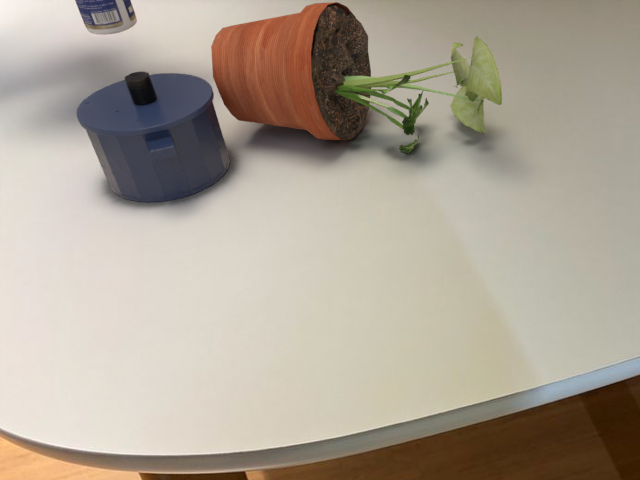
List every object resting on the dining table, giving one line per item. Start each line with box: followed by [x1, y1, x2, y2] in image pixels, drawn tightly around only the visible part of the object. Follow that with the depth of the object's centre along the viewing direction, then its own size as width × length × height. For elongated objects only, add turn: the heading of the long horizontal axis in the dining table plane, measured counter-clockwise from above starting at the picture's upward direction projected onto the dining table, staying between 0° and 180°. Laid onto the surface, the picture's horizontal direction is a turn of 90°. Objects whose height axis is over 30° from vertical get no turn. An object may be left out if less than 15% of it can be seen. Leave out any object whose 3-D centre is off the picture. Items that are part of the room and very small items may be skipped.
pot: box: [85, 100, 230, 203], centre depth 85 cm, size 13×18×8 cm
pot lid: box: [75, 71, 214, 136], centre depth 81 cm, size 13×13×4 cm
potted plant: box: [210, 1, 503, 154], centre depth 86 cm, size 16×15×35 cm
